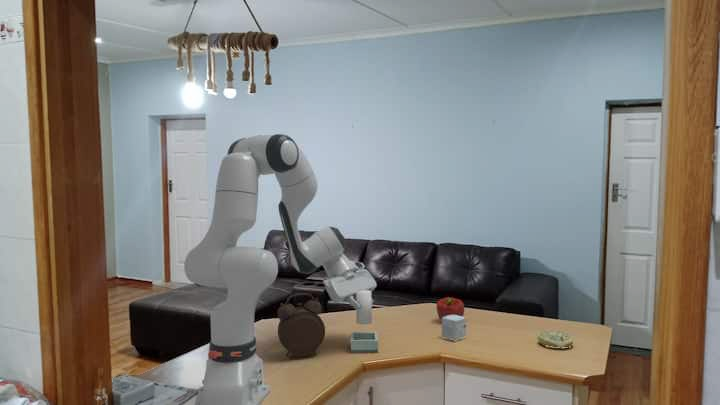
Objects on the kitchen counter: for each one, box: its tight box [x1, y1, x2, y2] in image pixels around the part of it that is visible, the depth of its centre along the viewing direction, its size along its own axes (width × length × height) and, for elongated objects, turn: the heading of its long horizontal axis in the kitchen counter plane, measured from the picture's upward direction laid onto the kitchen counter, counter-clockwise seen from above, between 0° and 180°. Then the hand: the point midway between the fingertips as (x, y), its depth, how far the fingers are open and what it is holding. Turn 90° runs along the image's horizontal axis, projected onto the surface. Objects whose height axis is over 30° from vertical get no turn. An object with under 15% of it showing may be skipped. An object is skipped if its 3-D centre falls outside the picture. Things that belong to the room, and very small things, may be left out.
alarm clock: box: [276, 292, 326, 359], centre depth 165 cm, size 14×7×20 cm, turn 111°
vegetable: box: [436, 296, 465, 322], centre depth 198 cm, size 11×10×10 cm
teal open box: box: [350, 331, 379, 354], centre depth 172 cm, size 9×9×4 cm
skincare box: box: [441, 314, 467, 340], centre depth 181 cm, size 6×6×7 cm
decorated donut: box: [537, 330, 574, 348], centre depth 173 cm, size 10×11×4 cm
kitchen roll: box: [355, 290, 373, 325], centre depth 171 cm, size 5×5×10 cm
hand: (365, 306), depth 170 cm, fingers closed on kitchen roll, 5 cm apart
